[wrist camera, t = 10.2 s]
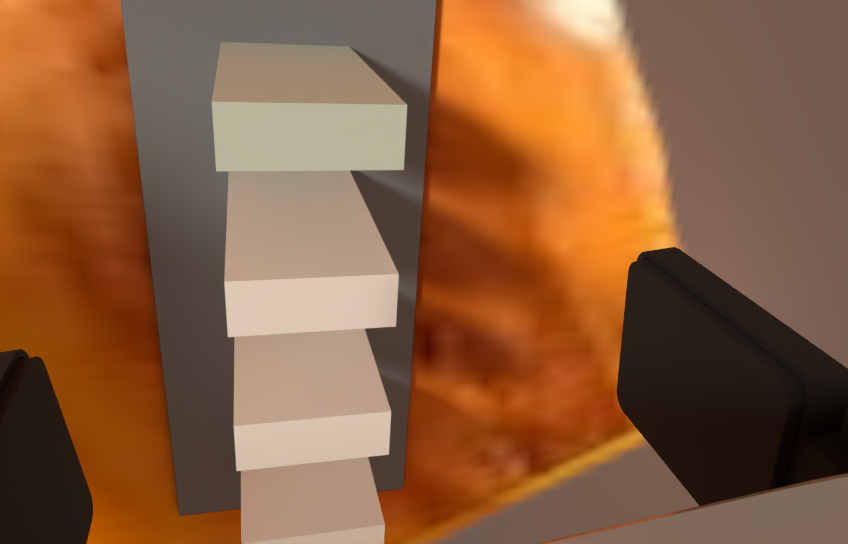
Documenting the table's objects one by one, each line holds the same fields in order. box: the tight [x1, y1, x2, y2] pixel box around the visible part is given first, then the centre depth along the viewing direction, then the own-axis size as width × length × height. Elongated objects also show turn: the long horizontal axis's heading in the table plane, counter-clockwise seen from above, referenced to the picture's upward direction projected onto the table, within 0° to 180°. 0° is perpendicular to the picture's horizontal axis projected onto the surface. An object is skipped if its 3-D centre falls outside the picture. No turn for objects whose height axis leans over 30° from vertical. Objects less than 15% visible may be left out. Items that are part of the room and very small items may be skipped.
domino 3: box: [234, 329, 391, 471], centre depth 27 cm, size 2×5×11 cm, turn 86°
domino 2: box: [224, 170, 399, 337], centre depth 25 cm, size 2×5×11 cm, turn 86°
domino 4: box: [241, 457, 385, 544], centre depth 29 cm, size 2×5×11 cm, turn 86°
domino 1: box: [212, 42, 407, 171], centre depth 23 cm, size 2×5×11 cm, turn 86°
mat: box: [121, 0, 436, 516], centre depth 32 cm, size 28×12×1 cm, turn 176°
